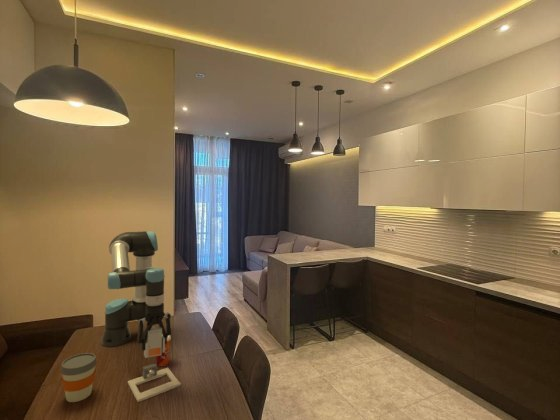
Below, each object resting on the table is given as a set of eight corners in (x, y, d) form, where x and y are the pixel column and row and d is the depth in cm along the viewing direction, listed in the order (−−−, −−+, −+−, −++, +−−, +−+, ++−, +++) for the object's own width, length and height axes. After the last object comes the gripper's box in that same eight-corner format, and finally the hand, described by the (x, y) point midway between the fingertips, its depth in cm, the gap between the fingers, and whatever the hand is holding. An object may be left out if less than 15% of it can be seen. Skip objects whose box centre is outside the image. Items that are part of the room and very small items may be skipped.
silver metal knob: (146, 373, 139) (146, 367, 139) (152, 371, 141) (152, 365, 141) (149, 377, 136) (149, 372, 136) (155, 375, 137) (155, 370, 137)
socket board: (127, 383, 135) (127, 371, 135) (167, 369, 147) (167, 358, 146) (137, 402, 123) (137, 389, 123) (180, 385, 134) (180, 373, 134)
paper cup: (165, 368, 147) (165, 340, 147) (151, 366, 149) (151, 338, 148) (173, 360, 155) (174, 333, 154) (160, 358, 157) (160, 332, 156)
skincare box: (147, 358, 131) (147, 331, 130) (147, 353, 135) (147, 327, 134) (161, 355, 133) (162, 329, 133) (161, 350, 137) (161, 325, 137)
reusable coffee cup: (91, 402, 122) (91, 366, 122) (55, 407, 119) (55, 370, 118) (100, 383, 134) (100, 351, 134) (67, 388, 131) (67, 354, 130)
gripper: (133, 310, 124) (132, 365, 125) (179, 301, 137) (179, 350, 137) (128, 305, 130) (128, 357, 130) (173, 297, 142) (173, 344, 143)
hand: (154, 353), depth 134 cm, fingers closed on skincare box, 7 cm apart
